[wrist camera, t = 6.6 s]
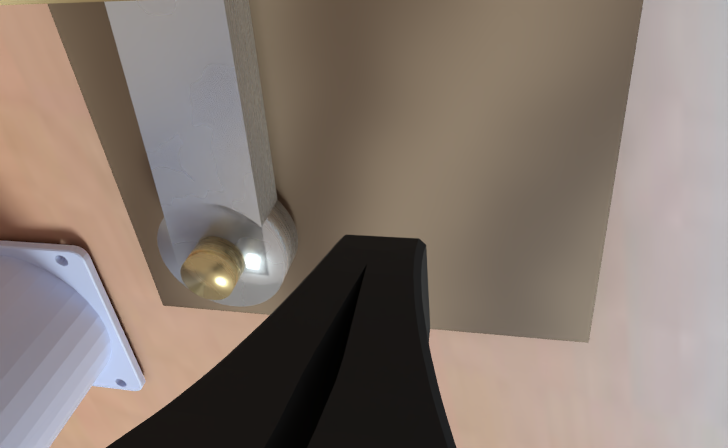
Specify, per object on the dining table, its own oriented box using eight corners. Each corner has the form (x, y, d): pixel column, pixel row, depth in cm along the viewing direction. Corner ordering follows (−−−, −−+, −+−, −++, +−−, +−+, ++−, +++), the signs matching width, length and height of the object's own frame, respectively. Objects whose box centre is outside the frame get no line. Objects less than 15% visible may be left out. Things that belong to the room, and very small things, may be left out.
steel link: (303, 284, 21) (281, 336, 19) (191, 270, 22) (158, 320, 20) (244, -184, 13) (196, -172, 11) (73, -179, 14) (1, -167, 12)
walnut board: (175, 287, 24) (122, 367, 21) (-95, -462, 13) (-301, -528, 10) (586, 320, 21) (594, 421, 18) (736, -663, 9) (838, -869, 6)
